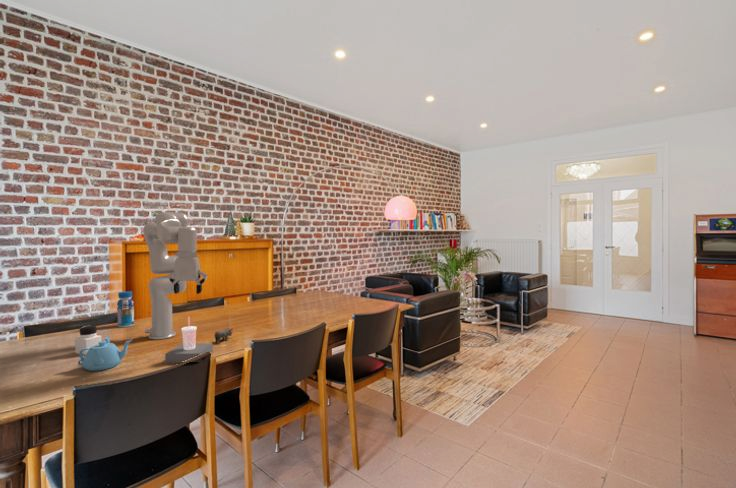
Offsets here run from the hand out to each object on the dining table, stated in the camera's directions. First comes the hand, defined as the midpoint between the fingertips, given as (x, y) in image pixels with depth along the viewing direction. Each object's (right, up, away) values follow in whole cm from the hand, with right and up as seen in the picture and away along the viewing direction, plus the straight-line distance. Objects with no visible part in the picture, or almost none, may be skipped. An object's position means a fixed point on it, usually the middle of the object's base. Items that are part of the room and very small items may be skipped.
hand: (187, 293), depth 163 cm
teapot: (-27, -28, -13) cm, 41 cm away
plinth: (+3, -28, -3) cm, 28 cm away
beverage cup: (+2, -24, -3) cm, 24 cm away
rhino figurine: (+8, -27, +22) cm, 36 cm away
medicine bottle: (-47, -28, +4) cm, 55 cm away
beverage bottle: (-63, -27, +53) cm, 86 cm away
